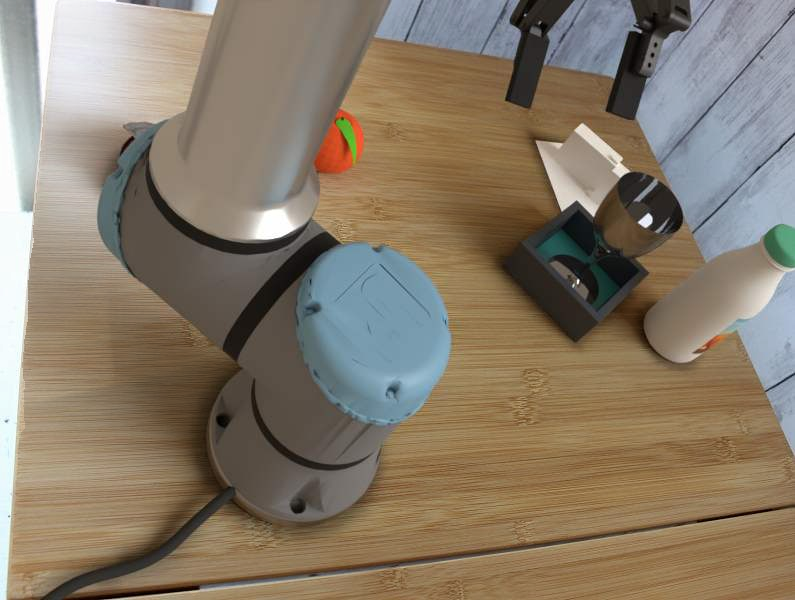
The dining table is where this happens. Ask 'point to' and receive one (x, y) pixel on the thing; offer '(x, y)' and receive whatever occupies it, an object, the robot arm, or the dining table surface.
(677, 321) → the milk bottle
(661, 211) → the wine glass
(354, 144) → the clementine
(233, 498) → the robot arm
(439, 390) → the dining table surface
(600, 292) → the dark grey open box
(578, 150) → the napkin holder
